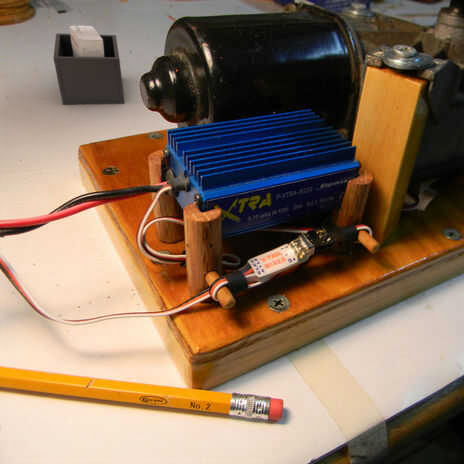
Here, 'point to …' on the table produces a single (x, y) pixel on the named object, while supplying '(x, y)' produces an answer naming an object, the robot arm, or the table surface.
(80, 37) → the ink box
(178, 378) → the table surface
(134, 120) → the table surface
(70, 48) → the dark grey open bin
